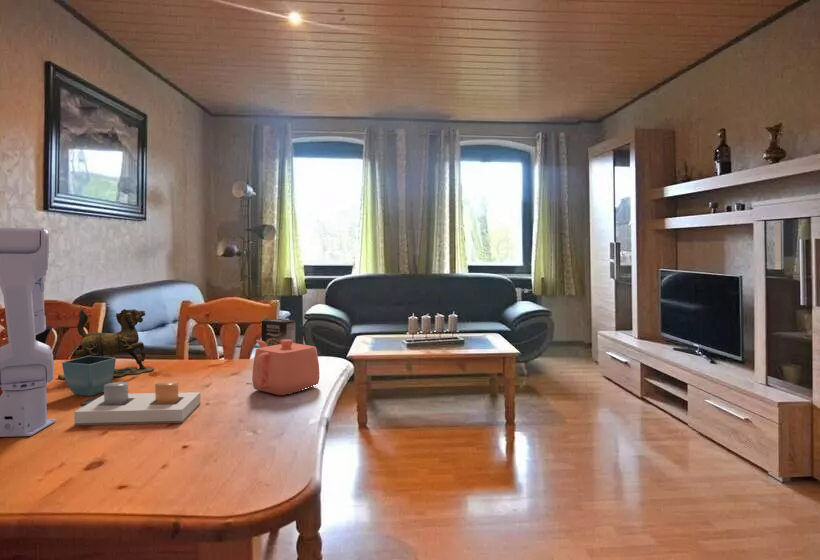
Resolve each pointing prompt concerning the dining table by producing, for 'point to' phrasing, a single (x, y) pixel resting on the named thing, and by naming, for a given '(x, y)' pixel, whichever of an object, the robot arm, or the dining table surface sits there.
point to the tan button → (166, 392)
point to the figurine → (115, 342)
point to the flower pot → (88, 374)
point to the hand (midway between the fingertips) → (31, 362)
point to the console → (138, 410)
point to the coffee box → (278, 331)
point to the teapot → (285, 367)
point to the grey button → (115, 393)
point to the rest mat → (89, 401)
